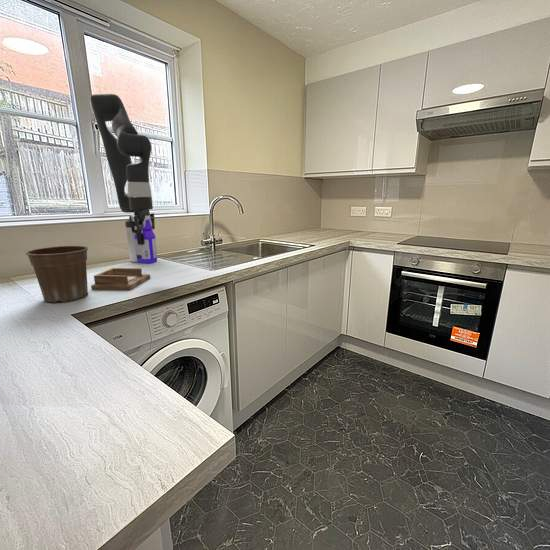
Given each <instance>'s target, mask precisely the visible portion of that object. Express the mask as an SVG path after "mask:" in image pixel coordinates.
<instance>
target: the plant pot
mask: <svg viewBox="0 0 550 550" xmlns="http://www.w3.org/2000/svg"><path fill="white" fill-rule="evenodd" d="M88 250H89V247H88V246H83V245H60V246H49V247H41V248H34V249H31V250H28V251H25V255H26V256H27V257H28V259H29V261H30V265H31V266H32V267H33V269H34V270H33V271H34V274H35V277H36V279H37V282H38V285H39V287H40V291H41V294H42V295H41V296H42V298H43V300H44V301H45V302H47V303H54V304H55V303H58V302H63V303H67V302H72V301H77V300H80V299H82V298H85V297H87V295H88V294H89V290H88V273H87V272H88V271H87V269H88V268H87V260H88Z"/></svg>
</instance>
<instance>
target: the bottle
mask: <svg viewBox="0 0 550 550" xmlns="http://www.w3.org/2000/svg"><path fill="white" fill-rule="evenodd" d="M139 225H142V224H139ZM152 228H153V227H152V226H151V224H150V221H149V216H147V220H146V225H145V228H144V230H143V234H144V244H143V245H139V244H138V242H137V234H135V247H136V256H137V261H138V262H137V263H139V264H142V265H143V264H144V265H152V264H155V263H157V262H158V251H157V250H158V248H157V240H156V234H155V233H154V230H153V231H152ZM140 230H141V228H140Z"/></svg>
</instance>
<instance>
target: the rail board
mask: <svg viewBox="0 0 550 550" xmlns="http://www.w3.org/2000/svg"><path fill="white" fill-rule="evenodd" d="M149 279H151V275H150V274H149V273H148V274H147V273H143V272H142V268H140V267H139V268H135V267H134V268H131V267H129V268H128V267H127V268H126V267H111V268H109V269H106V270H105V271H102V272H99V273H97V274H95V275H93V280H94V283H93V284H91V285H90V287H91V290H100V291H103V290H104V291H105V290H106V291H131V290H133V289H134V288H136V287H138V286H139V285H140V284H143V283H144V282H146V281H147V280H149Z"/></svg>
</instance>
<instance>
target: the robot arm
mask: <svg viewBox="0 0 550 550" xmlns="http://www.w3.org/2000/svg"><path fill="white" fill-rule="evenodd" d="M89 104H90V108H91V110H92V113H93V116H94V119H95V121H96V122H95V123H96V126H97V128H98V130H99V135H100V136H101V141H102V144H103V148H104V152H105V155H106V160H107V163H108V166H109V170H110V174H111V176H112V179H113V182H114V187H115V192H116V196H117V200H118V205H119V208H120V211H121V212H122V213H125V214H126V213H128V214H129V213H130V214H132V213H133V215H129V216H128V220H126V221H125V222H124V226H125V230H126V232H125V233H126V239H127V247H128V248H127V249H128V255H129V256H128V257H129V261H130V262H132V263H138V261H137V256H136V247H135V234H137V242H138V244H139V245H143V244H144V234H143V230H144V228H145V225H146V220H147V216H149V221H150V224H151V226H152V227H153V228H152V231H153V232H154V230H155V229H156V228H155V227H156V225H155V224H156V223H155V213H154V212H152V213H151V212H150V210H153V209H154V206H153V198H152V197H153V196H152V190H151V189H152V188H151V184H150V175H149V165H150V160H151V159H150V158H151V154H152V142H151V141H150V138H148V137H147V136H146V135H144V134H143V135H142V134H139V133H138V131H137V129H136V128H135V126H134V125H133V123H132V121H131V119H130V118H129V115H128V113H127V110H126V108H125V106H124V102H123V101H122V99H121V98H120V96H119V95H118V94H115V93H96V94H90V96H89ZM106 122H111V129H112V131H111V130H110V129H109V128H108V125H107V123H106ZM112 132H113V133H114V134H113V133H112ZM132 157H134V158H139V160H138V162H137V163H136V162H135V163H132V159H131V158H132ZM126 185H127V193H126V191H125V187H126ZM139 224H142V225H139ZM140 228H141V230H140Z"/></svg>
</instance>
